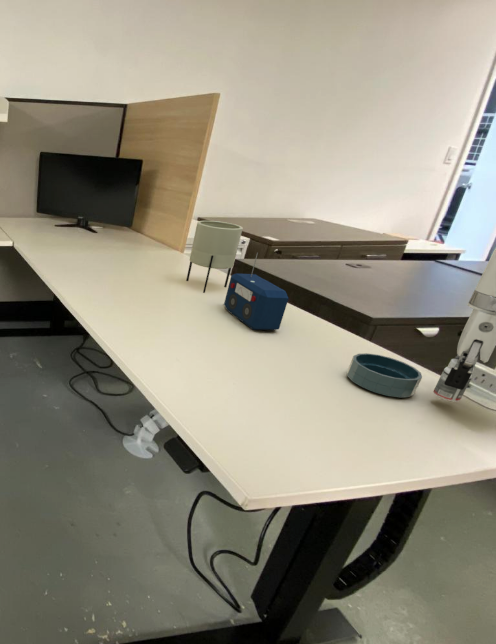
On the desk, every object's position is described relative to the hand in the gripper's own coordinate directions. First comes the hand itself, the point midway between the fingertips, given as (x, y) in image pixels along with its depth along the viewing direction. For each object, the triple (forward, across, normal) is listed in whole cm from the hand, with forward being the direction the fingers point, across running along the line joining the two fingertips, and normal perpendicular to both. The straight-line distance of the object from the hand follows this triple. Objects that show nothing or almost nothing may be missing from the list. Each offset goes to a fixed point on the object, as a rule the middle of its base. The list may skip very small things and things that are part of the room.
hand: (454, 381), depth 100 cm
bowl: (+6, 0, +12) cm, 13 cm away
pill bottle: (+4, 0, 0) cm, 4 cm away
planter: (+7, +42, +72) cm, 83 cm away
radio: (+6, +19, +49) cm, 53 cm away
